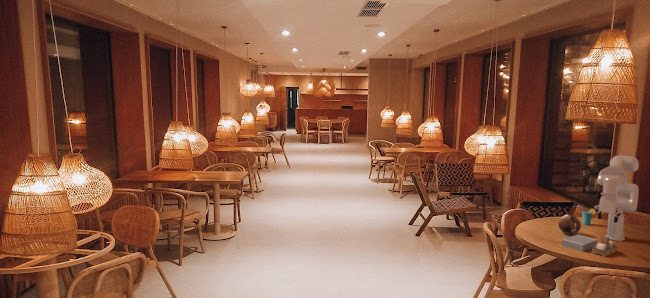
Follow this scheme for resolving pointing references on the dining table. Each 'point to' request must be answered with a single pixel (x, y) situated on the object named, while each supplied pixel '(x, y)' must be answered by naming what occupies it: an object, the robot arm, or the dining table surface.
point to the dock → (579, 242)
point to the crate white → (601, 246)
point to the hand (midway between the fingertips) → (607, 220)
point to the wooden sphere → (569, 224)
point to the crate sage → (610, 244)
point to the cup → (587, 216)
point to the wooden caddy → (608, 250)
